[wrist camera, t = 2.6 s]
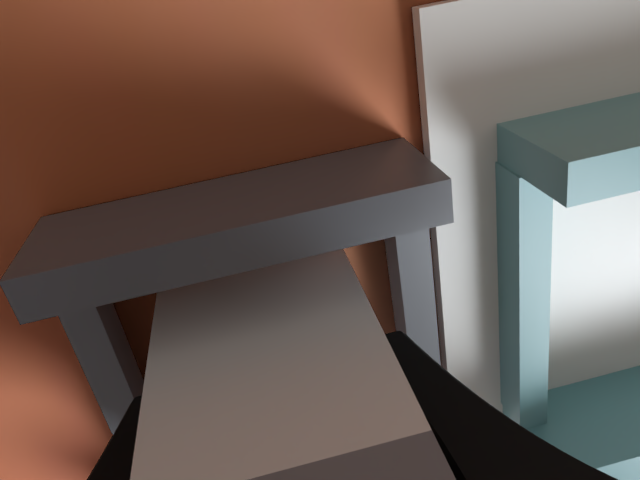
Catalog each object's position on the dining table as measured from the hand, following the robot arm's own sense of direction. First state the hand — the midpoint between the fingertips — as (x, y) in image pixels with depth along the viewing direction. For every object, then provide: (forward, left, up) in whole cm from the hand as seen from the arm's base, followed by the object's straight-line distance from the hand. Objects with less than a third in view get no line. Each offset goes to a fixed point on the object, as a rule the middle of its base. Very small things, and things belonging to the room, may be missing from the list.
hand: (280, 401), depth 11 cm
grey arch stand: (0, 0, -2) cm, 2 cm away
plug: (0, 0, -2) cm, 2 cm away
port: (+9, 0, -2) cm, 9 cm away
